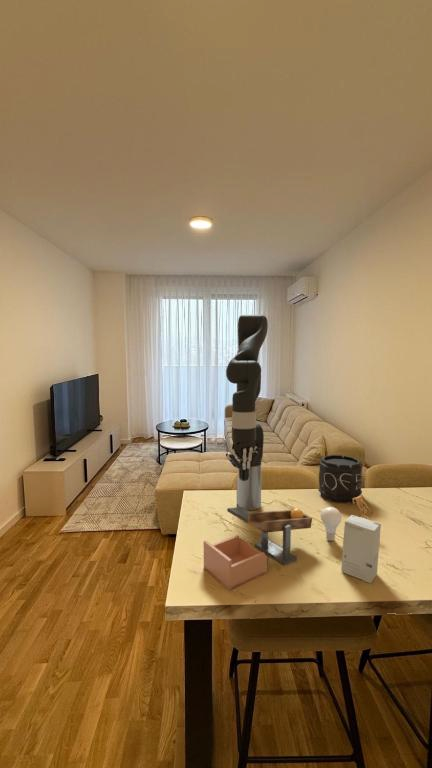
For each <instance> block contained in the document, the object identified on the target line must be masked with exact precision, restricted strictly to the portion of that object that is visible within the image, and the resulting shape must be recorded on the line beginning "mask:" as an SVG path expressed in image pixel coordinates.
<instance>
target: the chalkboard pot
mask: <svg viewBox="0 0 432 768" xmlns="http://www.w3.org/2000/svg"><path fill="white" fill-rule="evenodd" d="M318 466H319V471H318V483H319V484H318V486H319V487H318V489H317V490H318V492H320V496H322V497H323V498H324V499H325V500H328V501H332V502H334V503H338V504H339V503H341V504H351V503H352V504H353V499H352V498H355V497H359V496H360V495H363V494H362V492H363V491H362V485H363V467H364V466H363V464H362V462H361V460H360V459H358V458H356V457H353V456H349V455H344V456H343V455H342V454H330V455H324V456H322V458H321V460H320V461H319V463H318ZM354 503H357V502H356V500H355V499H354Z"/></svg>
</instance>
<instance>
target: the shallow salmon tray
mask: <svg viewBox="0 0 432 768" xmlns="http://www.w3.org/2000/svg"><path fill="white" fill-rule="evenodd" d="M267 557H268V556H267V554H266V553H264V552H263V551H261V550H260V549H258V548H257V547H255V546H253V545H251V544H250V543H248V542H247V541H245V540H244V539H242V538H241V537H240V535H234V536H232V537H229V538H226V539H224V540H221V541H218V542H216V543H213V544H211V542H209V541H208V540H207V539H205V540H203V569H204V570H206V572H208V573H209V574H210V575H211V576H212V577H213V578H214V579H215V580H217V582H219V584H221V585H222V584H223V585H224V586H223V585H222V586H223V587H225V588H226V590H228V591H231V590H234V589H235V588H236V589H237V588H238V587H239V586H243V585H244V584H246V583H248V582H250V581H252V580H255V579H257V578H259V577H261V576H264V575H265V574H267V573H268V572H267V569H268V565H267V564H268V563H267V562H268V560H267V559H268V558H267ZM233 588H234V589H233Z"/></svg>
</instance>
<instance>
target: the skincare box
mask: <svg viewBox="0 0 432 768" xmlns="http://www.w3.org/2000/svg"><path fill="white" fill-rule="evenodd" d="M370 520H371V519H370ZM370 520H368V519H365V518H361V516H357V515H354V514H351V515H350V516H348V518H347V519H346V520H344V528H343V529H344V530H343V531H344V532H343V541H342V542H343V543H342V544H343V545H342V555H341V557H342V558H341V567H340V569H341V573H344V574H347V575H349V576H352V577H354V578H357V579H359V580H362V581H364V582H366V583H367V584H371V583H372V582H373V581H374V579H375V578H376V576H377V575H378V567H379V554H380V553H379V551H380V539H381V529H382V528H381V527H382V524H381V523H379V522H376V521H374V520H371V521H370Z"/></svg>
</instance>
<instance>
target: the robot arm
mask: <svg viewBox="0 0 432 768" xmlns="http://www.w3.org/2000/svg"><path fill="white" fill-rule="evenodd" d="M268 330H269V329H268V318H267V317H266V315H263V314H240V315H239V317H238V320H237V353H236V354H235V355H234V356H233V358H232V359H230V361H229V363H228V365H227V366H226V370H225V372H226V373H225V377H226V378H227V381H229V382H230V383H232V384H235V385H236V391H235V392H233V394H232V404H231V405H232V407H231V408H232V413H231V414H232V415H231V441H232V446H231V450H230V451H229V452H226V453H225V457H226V458H227V459H228V461H229V462H230V463H231V465H232V466H233V467H234V468H237V480H236V504H237V506H238V508H239V507H242V508H244V509H246V510H248V511H255V510H258V509H259V510H260V508H262V460H263V456H264V439H265V438H264V429H263V427H262V425H261V424H260V423H258V422H257V415H256V401H257V399H258V397H259V396H260V393H261V388H262V365H260V363H259V362H258V360H259V355H260V350H261V348H262V346H263V344H264V343H265V340H266V337H267V334H268Z"/></svg>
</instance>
